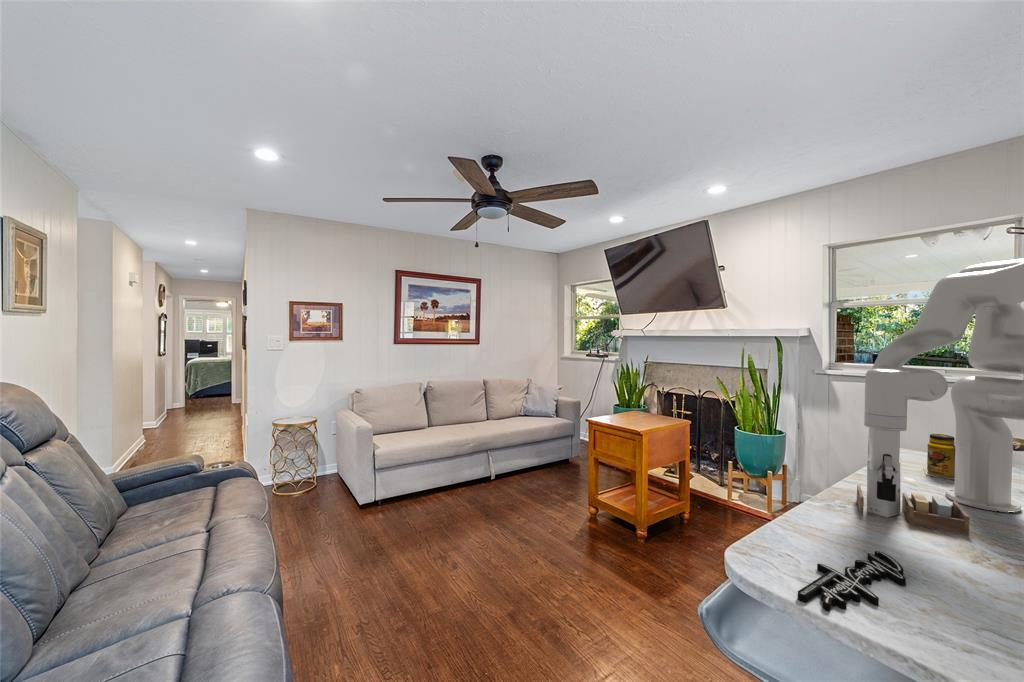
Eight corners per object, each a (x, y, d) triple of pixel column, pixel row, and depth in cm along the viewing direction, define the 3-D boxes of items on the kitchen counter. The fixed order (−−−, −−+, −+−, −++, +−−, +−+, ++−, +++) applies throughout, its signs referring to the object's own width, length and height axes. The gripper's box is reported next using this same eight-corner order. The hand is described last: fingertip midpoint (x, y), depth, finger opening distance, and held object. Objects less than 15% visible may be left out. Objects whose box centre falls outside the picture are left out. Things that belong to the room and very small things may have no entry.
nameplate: (853, 542, 83) (922, 565, 75) (853, 549, 83) (921, 574, 75) (781, 585, 69) (855, 620, 60) (780, 594, 69) (855, 631, 60)
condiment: (926, 475, 126) (927, 435, 126) (923, 468, 132) (924, 430, 132) (961, 481, 121) (962, 439, 121) (956, 473, 128) (957, 434, 127)
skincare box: (888, 518, 96) (889, 465, 96) (865, 511, 100) (866, 460, 100) (901, 513, 99) (902, 462, 99) (878, 506, 103) (879, 457, 103)
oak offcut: (911, 513, 99) (911, 492, 99) (922, 515, 98) (923, 494, 98) (915, 523, 94) (916, 500, 94) (928, 525, 93) (928, 502, 93)
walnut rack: (856, 500, 107) (857, 485, 107) (956, 518, 96) (956, 501, 96) (860, 514, 98) (860, 497, 98) (968, 536, 88) (969, 517, 88)
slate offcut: (931, 517, 97) (932, 496, 97) (943, 519, 96) (944, 498, 96) (937, 527, 92) (938, 504, 92) (950, 529, 91) (951, 506, 91)
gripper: (861, 414, 109) (859, 480, 109) (867, 425, 95) (866, 501, 95) (900, 417, 104) (898, 486, 105) (913, 430, 90) (911, 509, 91)
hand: (883, 493), depth 100 cm, fingers open, 9 cm apart
